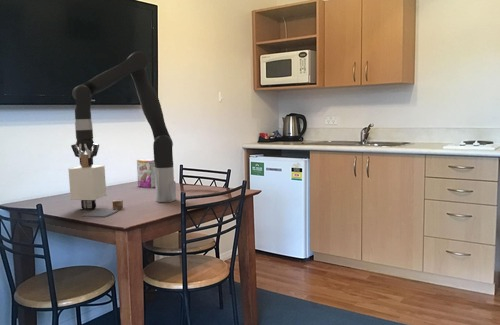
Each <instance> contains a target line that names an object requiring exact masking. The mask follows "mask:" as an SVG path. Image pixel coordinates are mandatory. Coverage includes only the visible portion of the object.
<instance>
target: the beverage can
mask: <svg viewBox="0 0 500 325" xmlns="http://www.w3.org/2000/svg"><path fill="white" fill-rule="evenodd" d="M80 203H81V207H80V208H81V209H82V210H84V211H85V210H86V211H87V210H88V211H89V210H96V207H97V199H95V200H80Z"/></svg>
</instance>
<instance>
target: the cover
mask: <svg viewBox="0 0 500 325" xmlns="http://www.w3.org/2000/svg"><path fill="white" fill-rule="evenodd" d="M105 168H106V166H105V165H104V164H103V165H99V164H98V165H97V164H96V165H95V164H92V166H89V164H88V154H87V153H84V154H81V165H80V166H75V167H70V168H68V181H69V194H70V195H69V196H70V200H71V201H81V200H95V199H96V200H98V199H100V198H103V197H106V196H107V184H106V183H107V182H106V181H107V180H106V169H105Z"/></svg>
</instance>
